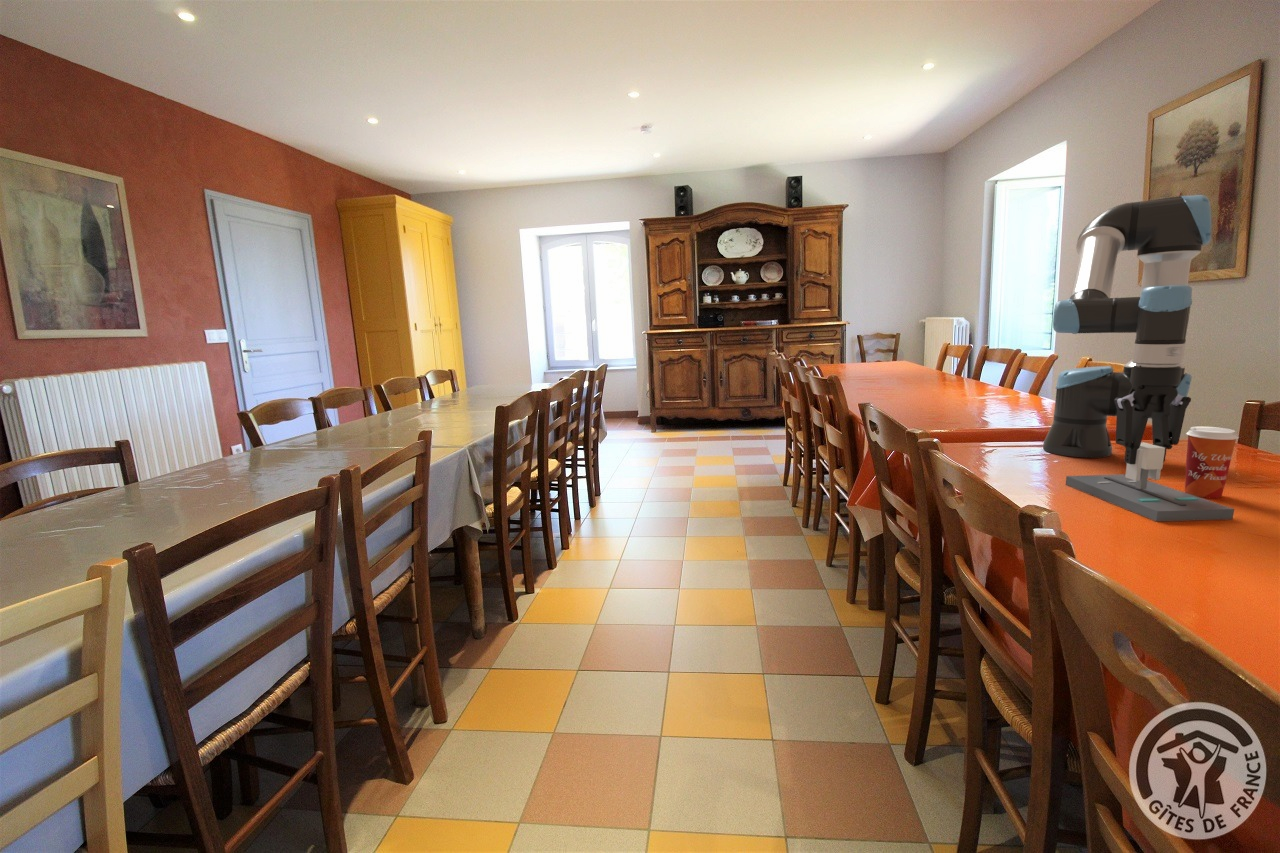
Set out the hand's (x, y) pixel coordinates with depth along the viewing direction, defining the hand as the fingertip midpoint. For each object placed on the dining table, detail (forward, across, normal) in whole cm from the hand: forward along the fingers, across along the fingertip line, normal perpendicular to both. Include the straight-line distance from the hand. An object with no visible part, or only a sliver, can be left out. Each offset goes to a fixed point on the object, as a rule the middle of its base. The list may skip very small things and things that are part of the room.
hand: (1142, 478), depth 119 cm
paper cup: (+5, +15, +2) cm, 16 cm away
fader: (+2, 0, 0) cm, 2 cm away
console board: (+5, 0, 0) cm, 5 cm away
